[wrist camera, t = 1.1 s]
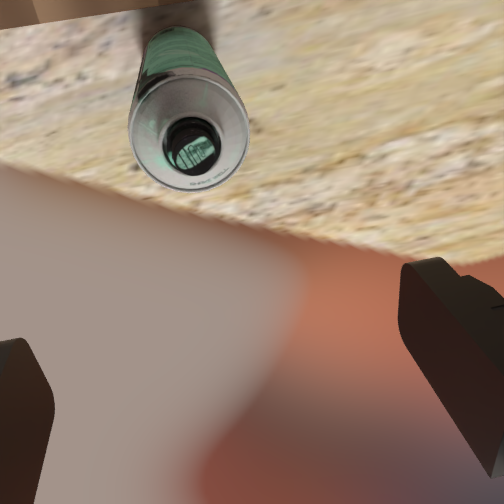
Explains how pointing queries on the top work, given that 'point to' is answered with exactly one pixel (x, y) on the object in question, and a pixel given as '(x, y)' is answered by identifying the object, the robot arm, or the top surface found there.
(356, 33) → the top surface
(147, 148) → the spray can
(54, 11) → the walnut holder
